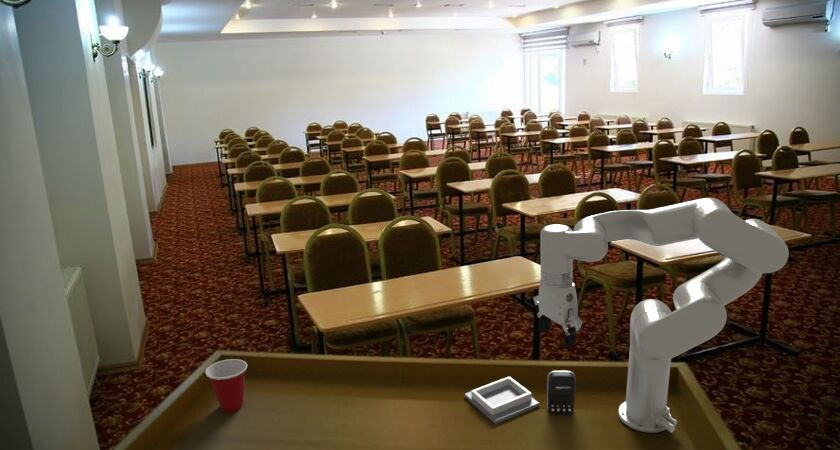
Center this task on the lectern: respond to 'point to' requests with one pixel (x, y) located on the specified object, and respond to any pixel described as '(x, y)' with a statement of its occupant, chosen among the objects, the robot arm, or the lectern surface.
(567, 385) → the battery charger
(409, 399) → the lectern surface
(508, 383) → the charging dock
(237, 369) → the plastic cup
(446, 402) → the lectern surface
